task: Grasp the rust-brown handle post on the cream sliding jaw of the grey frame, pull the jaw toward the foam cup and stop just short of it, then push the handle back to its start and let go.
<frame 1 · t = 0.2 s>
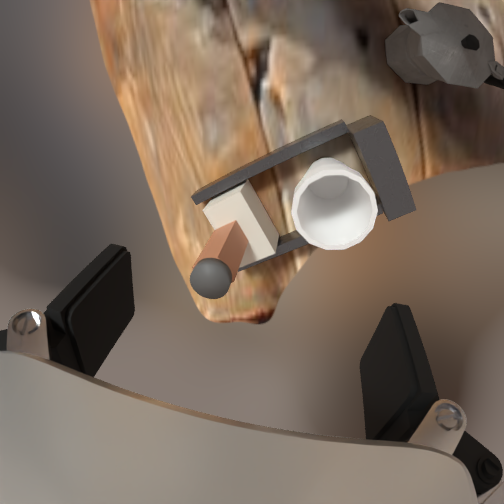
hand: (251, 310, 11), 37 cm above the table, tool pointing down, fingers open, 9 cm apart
foam cup: (327, 178, 45), resting in grey frame
coffeepot: (420, 58, 34), on the table
grey frame: (299, 190, 46), on the table
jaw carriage: (233, 241, 42), point 9 cm above the table, slide at 0.0 cm
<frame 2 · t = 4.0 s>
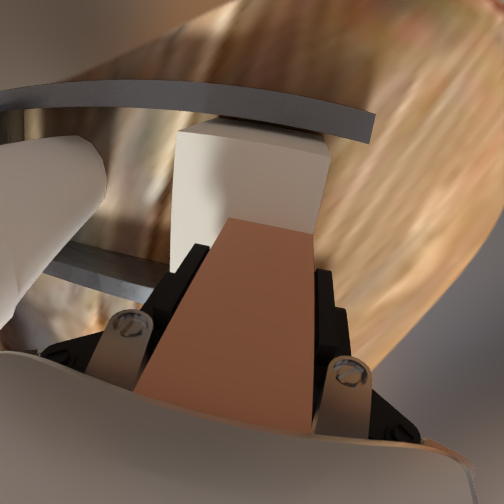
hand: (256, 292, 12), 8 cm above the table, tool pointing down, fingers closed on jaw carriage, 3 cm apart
foam cup: (74, 176, 20), resting in grey frame
grey frame: (123, 183, 20), on the table
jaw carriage: (226, 295, 12), point 9 cm above the table, slide at 0.0 cm, touching gripper
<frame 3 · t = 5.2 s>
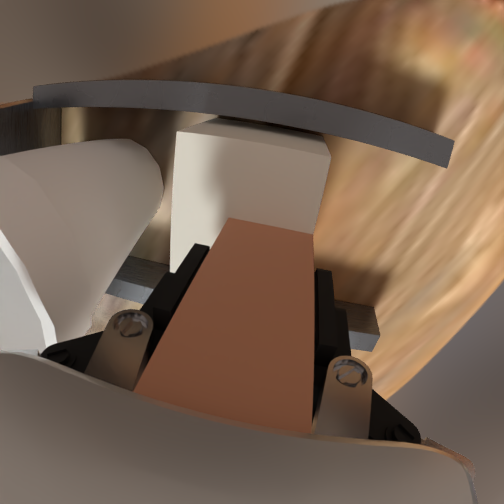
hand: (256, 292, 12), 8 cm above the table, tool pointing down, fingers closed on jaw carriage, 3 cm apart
foam cup: (123, 182, 20), resting in grey frame
grey frame: (183, 193, 20), on the table
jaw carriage: (226, 295, 12), point 9 cm above the table, slide at 4.4 cm, touching gripper
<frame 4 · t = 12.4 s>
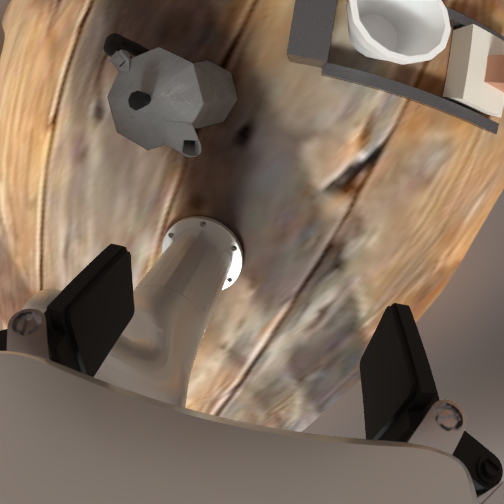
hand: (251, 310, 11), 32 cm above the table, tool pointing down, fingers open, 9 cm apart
foam cup: (373, 36, 31), resting in grey frame
coffeepot: (198, 88, 37), on the table
grey frame: (407, 46, 30), on the table
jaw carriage: (502, 71, 22), point 9 cm above the table, slide at 0.0 cm
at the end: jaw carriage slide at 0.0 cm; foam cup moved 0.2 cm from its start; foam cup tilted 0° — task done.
